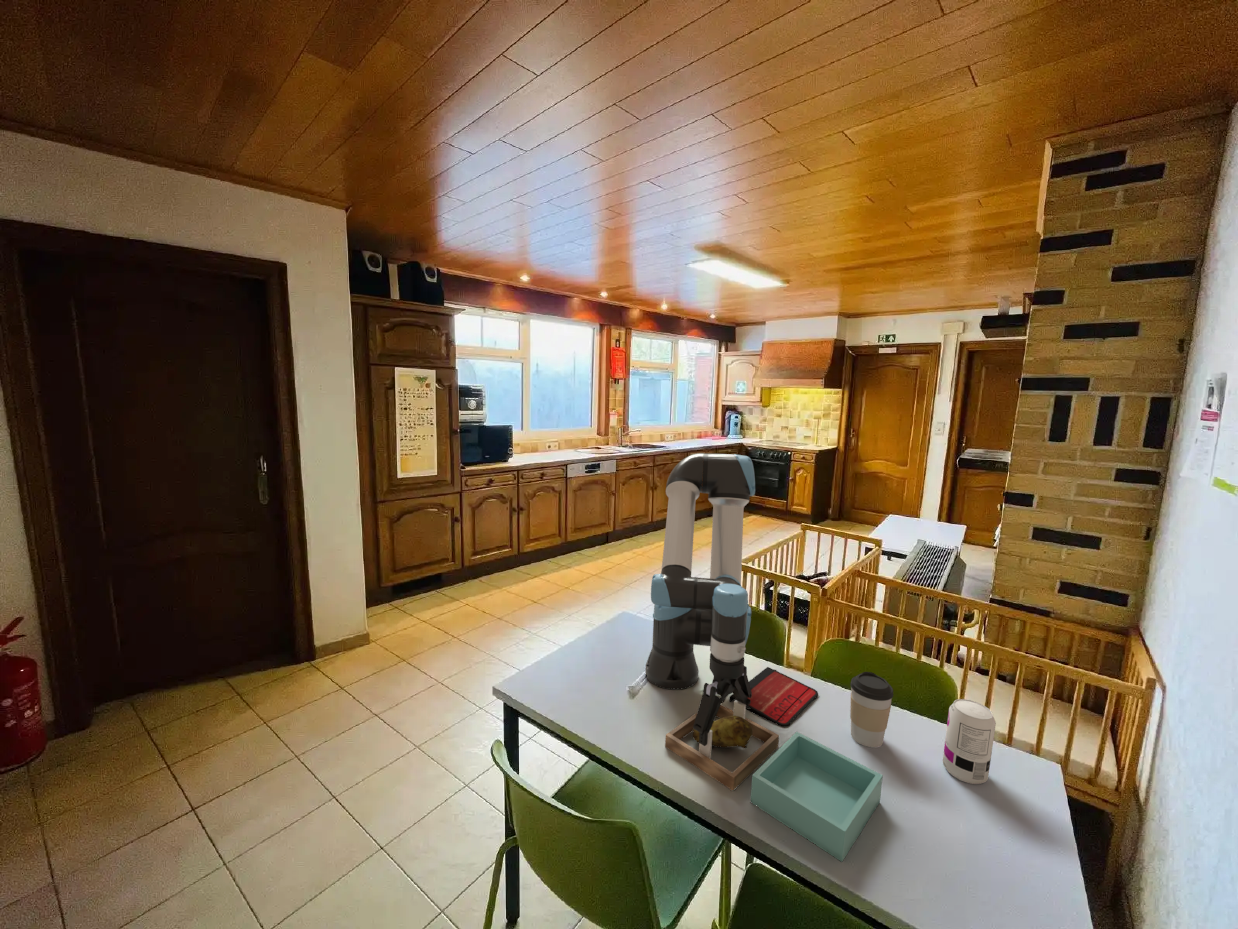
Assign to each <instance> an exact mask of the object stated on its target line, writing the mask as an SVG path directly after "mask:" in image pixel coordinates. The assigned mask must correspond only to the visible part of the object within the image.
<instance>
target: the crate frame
mask: <svg viewBox="0 0 1238 929" xmlns="http://www.w3.org/2000/svg"><path fill="white" fill-rule="evenodd" d="M733 711H734V710H732V709H730V708H729V707H727V706H724V705H723V704H721V705H720V707H719V710H718V712H717V715H716V717H717V718H718V719H721V718H724V717H729V716H733ZM696 715H697V712H696V713H694V714H693V715H691V716H690V717H688V718H686V719H685V720H684V721H683V722H681V723H680V724H678V725H677V726H676V727H674V728H673V729H671V730H670V731H669V732H667V733H666V734H665V740H664V741H665V743H664V746H665V748H667V749H668V750H670V751H671V752H673V753H674V754H676V755H677V756H679V757H680V758H681V759H683V760H685V761H686V762H687V763H690V764H691V765H692V766H694V767H695V768H697V769H699V770H700V771H701V772H703V773H705V774H706V775H708V776H709V777H711V778H712V779H713V780H716V781H717V782H718V783H720V784H722V786H725V787H726V788H727V789H729V790H731V791H732V790H734V789H735V788H736V787H737V788H738V787H739V786H740V785H741V784H742V783H743V782H744V781H745V780H746V779H747V778H749V776H750V775H752V773H753V772H755V770H756V769H757V768H759V767H760V766H761V764H762V763H764V761H765V760H767V759H769V758H770V757H771V756H772V755H773V754H774V753H775V751H777V750H778V748H779V746H780V745H779V743H780V741H779V740H780V734H778V733H776V732H774V731H772V730H770V729H768V728H767V727H765V726H763V725H761V724H759V723H757V722H755V721H754V720H752V719H750V718H748V717H746V716H745V720H746V721H748V723H749V724H750V725H751V727H752V730H753V733H752V736H751V737H754V738H755V739H757V740H759V741H761V742H763V744H762V745H761V746H760V747H758V748H757V749H756V750H755V751H754V752H753V753H752V754H751V755H750V756H749V757H748V758H746V760H744V762H742V763H741V764H740V765H739V766H738V767H736V769H735V770H733V771H730V770H729V769H727V768H725V767H724V766H722V765H721V764H720V763H718V762H716V761H714V760H713V759H712V758H708V757H706V756H705V755H703V754H702V753H700V752H699V750H697V749H695V748H694V747H692V746H691V745H689V744H687V743H686V742H684V741H682V739H684V738H685V737H687V736H688V735H689V734H690V733H692V732H693V725H694V722H695V718H696ZM738 785H739V786H738ZM737 788H736V789H737ZM734 791H735V790H734Z"/></svg>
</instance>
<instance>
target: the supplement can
mask: <svg viewBox="0 0 1238 929" xmlns="http://www.w3.org/2000/svg"><path fill="white" fill-rule="evenodd" d="M996 725H997V722H996V720H995V717H994V714H993V712H992V710H991V709H990V708H988V707H987V706H986V705H984V704H982V703H980V702H977V701H974V700H971V699H967V698H966V699H965V698H962V699H961V698H958V699H955V700H954V701H953V703H952V704H951V705H949V708H948V715H947V724H946V730H945V740H944V747H943V754H942V765H943V766H944V768H945V769H946V771H948V773H949V774H950V775H951V776H952V777H953V778H956V779H957V780H959V781H961V782H964V783H965V784H966V783H967V784H970V785H980V784H983V783H986V782H987V781H988V779H989V775H990V774H989V773H990V766H991V761H992V754H993V745H994V740H995V733H996Z"/></svg>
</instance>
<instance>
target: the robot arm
mask: <svg viewBox="0 0 1238 929" xmlns="http://www.w3.org/2000/svg"><path fill="white" fill-rule="evenodd" d="M700 493H701V494H708V497H707V500H708V501H709V503H711V505H712V507H713V509H712V527H711V529H712V530H711V548H710V549H711V550H710V572H709V573H710V574H709V577H699V576H698V577H696V576H692V571H693V570H692V569H693V551H694V550H693V549H694V536H695V535H694V531H695V517H696V514H695V513H696V500H697V499H698V498H699V497H700ZM665 495H666V496H667V498H668V502H667V512H666V521H665V522H666V523H665V531H664V532H665V534H664V541H663V552H662V554H663V555H662V563H661V571H660V572H661V573H655V574H653V576H652V577H651V578H652V579H651V586H650V587H651V588H650V600H651V603H652V604H653V605H654V606H653V613H652V619H653V621H652V622H653V625H652V626H653V627H652V647H651V649H650V652H649V655H648V658H647V660H646V664H645V669H644V670H645V673H646V674H647V677H646V679H647V680H648V681H649V682H650V683H651V684H653V685H655V686H657V687H660V688H662V689H666V690H683V689H684V690H685V689H687V688H691V687H692V686H695V684H696V683H697V682H698V680H699V666H698V664H697V661H696V656H695V653H694V645H695V646H703V647H704V646H705V647H709V651H710V654H709V670H710V672H711V673H712V675H713V678H712V682H711V683H707V682H705V683H704V684H703V691H702V695H701V698H700V699H701V700H700V702H699V706H698V709H697V712H696V713H697V715H696V718H695V722H694V725H693V729H695V730H696V731H698V732H699V743H698V752H700V753H702V754H703V755H705V756H706V757H708V758H710V759H712V748H713V746H712V730H710V729H711V727H712V724H713V722H714V721H715V719H716V717H717V716H716V715H717V712H718V710H719V707H720V705H722V704H724V702H726V699H727V697H728V696H730V694H731V695H732V694H734V696H735V697H736V699H738V701H737V700H733V710H732V711H733V716H739V717H742V718H744V719H745V717H746V708H747V706H746V704H748V705H750V703H751V700H749V699H748V697H749V698H751V697H752V692H751V688H750V685H749V681H750V680H749V678H748V673H747V672H748V671H747V670H748V669H747V666H745V652H746V650H747V648H746V644H747V642H748V638H749V634H750V627H751V621H752V618H751V617H752V608H751V607H750V606H749V593H748V590H747V589H745V588H744V587H743V586H742V566H743V565H742V564H743V563H742V561H743V558H742V557H743V539H744V538H743V535H744V530H743V529H744V508H745V506H747V504H749V502H750V497H753V496H755V495H756V477H755V468H754V463H753V461H752V459H751V457H750V456H747V455H741V454H736V453H734V454H732V453H731V454H729V453H728V454H727V453H704V452H698V453H693V454H689V455H688V456H686V457H685V458H683V459H682V460H680V461H679V462H678V463H677V464H676V465H675V466H674V467H673V469H672V470H671V472H670V474H669V475H668V477H667V481H666V487H665ZM646 674H645V675H646ZM717 695H718V696H717Z"/></svg>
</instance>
